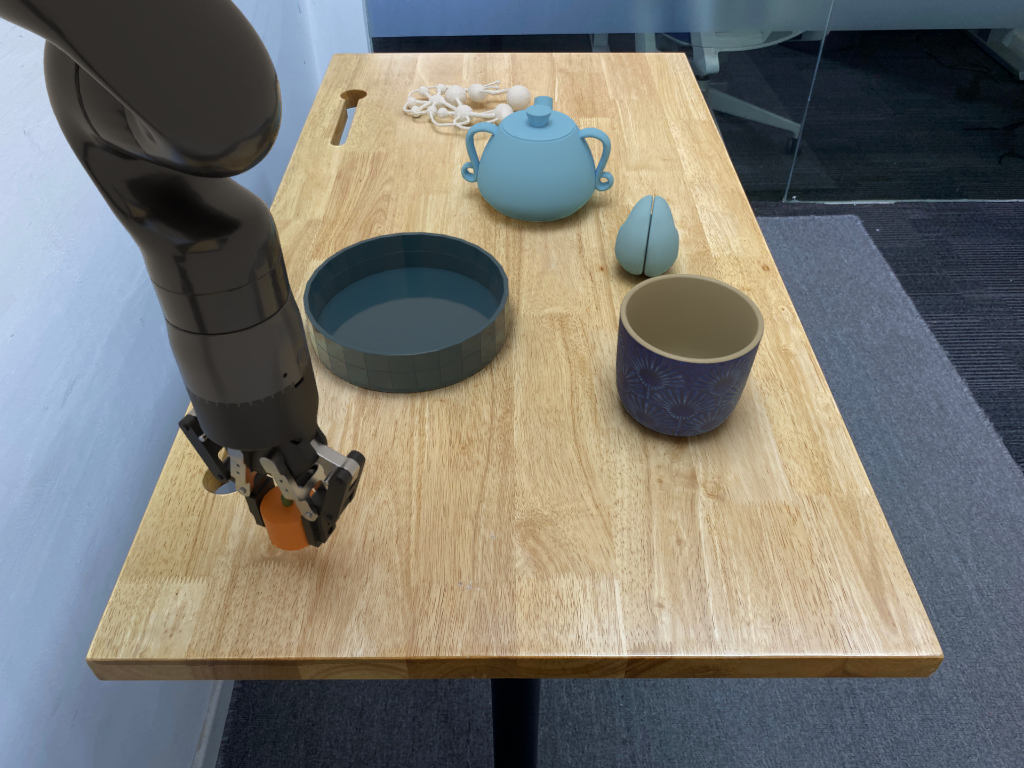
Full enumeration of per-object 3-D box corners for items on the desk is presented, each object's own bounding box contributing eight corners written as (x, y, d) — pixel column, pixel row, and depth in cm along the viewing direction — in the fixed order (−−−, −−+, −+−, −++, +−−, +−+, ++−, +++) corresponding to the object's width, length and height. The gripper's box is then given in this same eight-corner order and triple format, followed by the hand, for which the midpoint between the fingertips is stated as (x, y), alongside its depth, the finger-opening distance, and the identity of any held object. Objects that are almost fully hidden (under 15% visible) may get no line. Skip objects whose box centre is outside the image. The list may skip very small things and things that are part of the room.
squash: (285, 560, 56) (274, 527, 54) (259, 527, 59) (247, 493, 56) (332, 531, 58) (324, 498, 56) (305, 499, 61) (296, 466, 58)
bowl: (385, 425, 72) (379, 387, 69) (275, 318, 84) (265, 281, 80) (548, 331, 82) (550, 293, 79) (431, 247, 94) (427, 211, 90)
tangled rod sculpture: (385, 130, 119) (381, 105, 116) (427, 87, 128) (424, 63, 125) (501, 150, 113) (499, 124, 110) (536, 103, 122) (535, 78, 119)
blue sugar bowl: (452, 227, 97) (446, 132, 88) (475, 153, 111) (473, 65, 103) (609, 238, 95) (620, 142, 87) (613, 161, 110) (622, 72, 101)
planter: (704, 351, 80) (724, 264, 72) (762, 436, 71) (792, 347, 64) (591, 372, 78) (600, 284, 70) (637, 462, 69) (652, 373, 61)
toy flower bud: (687, 174, 90) (685, 221, 81) (676, 241, 96) (672, 292, 87) (626, 168, 91) (617, 214, 82) (618, 235, 97) (609, 285, 88)
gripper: (107, 363, 46) (186, 534, 58) (309, 431, 42) (350, 600, 54) (191, 294, 51) (248, 465, 63) (378, 350, 47) (402, 520, 59)
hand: (295, 526), depth 58 cm, fingers closed on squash, 4 cm apart
